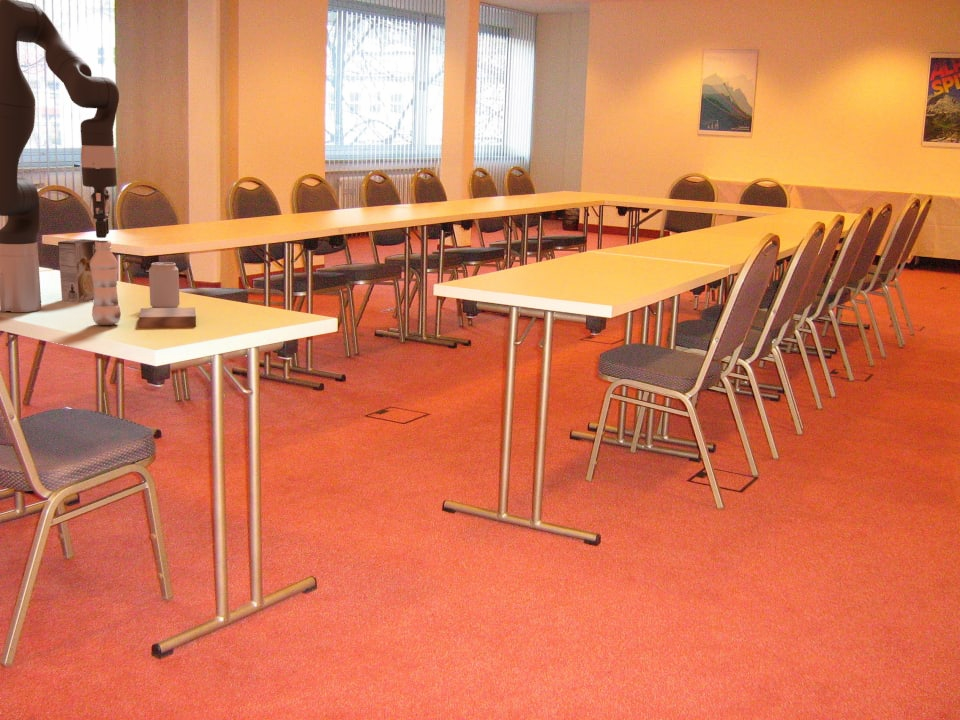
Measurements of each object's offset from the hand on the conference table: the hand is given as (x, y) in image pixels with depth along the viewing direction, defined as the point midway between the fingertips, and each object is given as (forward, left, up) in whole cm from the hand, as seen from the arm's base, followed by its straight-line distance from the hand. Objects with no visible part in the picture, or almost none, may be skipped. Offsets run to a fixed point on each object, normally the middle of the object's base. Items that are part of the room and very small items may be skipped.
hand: (102, 235), depth 235 cm
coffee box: (-9, +41, -22) cm, 47 cm away
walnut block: (+14, +2, -21) cm, 26 cm away
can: (+13, +24, -22) cm, 35 cm away
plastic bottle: (0, 0, -22) cm, 22 cm away
